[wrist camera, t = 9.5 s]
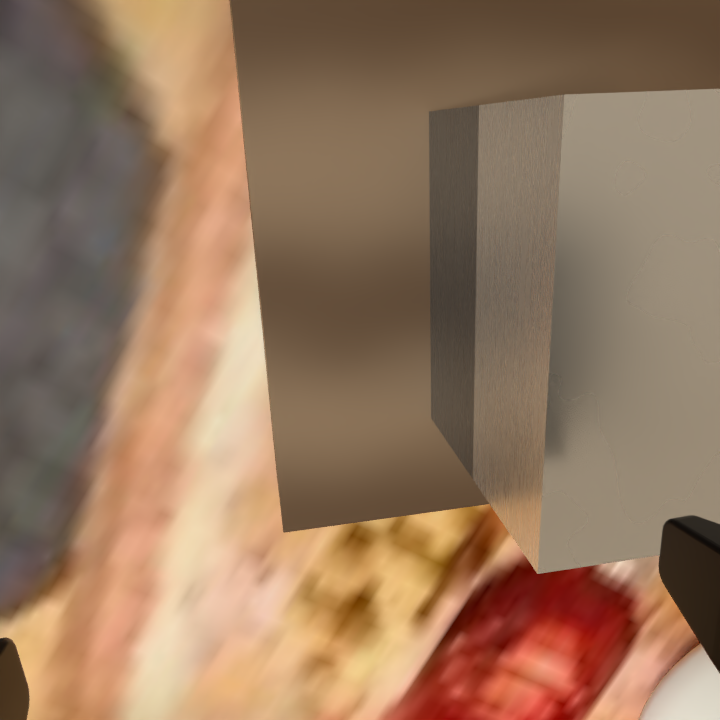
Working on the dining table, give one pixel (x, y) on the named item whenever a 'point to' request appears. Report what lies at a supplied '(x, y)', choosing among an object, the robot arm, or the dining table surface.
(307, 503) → the stand
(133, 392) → the dining table surface
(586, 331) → the housing
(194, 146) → the dining table surface
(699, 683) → the flower in vase
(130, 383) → the dining table surface
